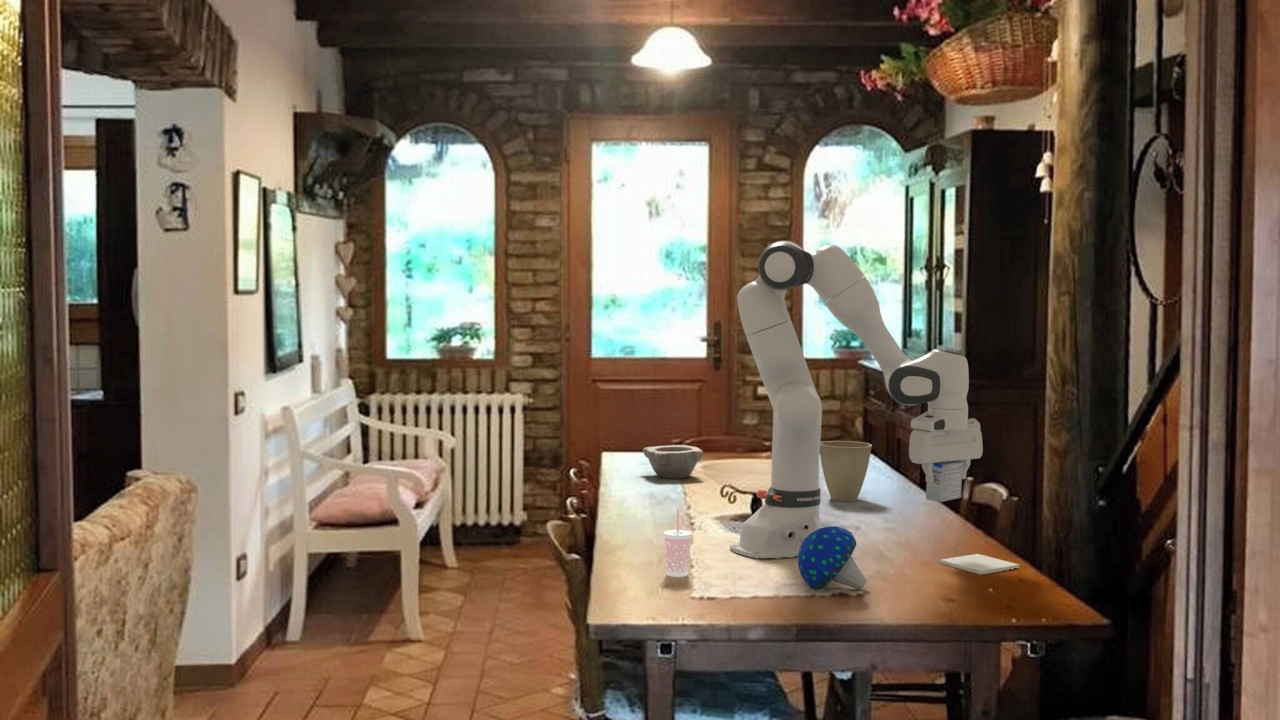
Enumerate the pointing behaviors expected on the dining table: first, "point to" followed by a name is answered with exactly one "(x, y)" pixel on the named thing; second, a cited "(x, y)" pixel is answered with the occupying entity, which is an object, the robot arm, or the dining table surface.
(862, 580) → the mushroom
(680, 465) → the mortar
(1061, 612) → the dining table surface
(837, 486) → the plant pot
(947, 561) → the ceramic tile
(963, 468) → the robot arm
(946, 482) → the medicine box
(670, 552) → the beverage cup
